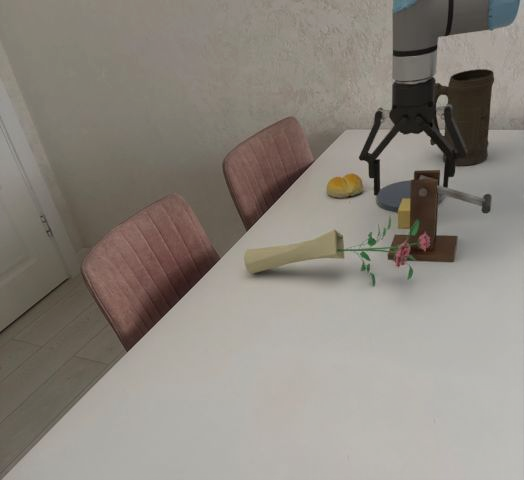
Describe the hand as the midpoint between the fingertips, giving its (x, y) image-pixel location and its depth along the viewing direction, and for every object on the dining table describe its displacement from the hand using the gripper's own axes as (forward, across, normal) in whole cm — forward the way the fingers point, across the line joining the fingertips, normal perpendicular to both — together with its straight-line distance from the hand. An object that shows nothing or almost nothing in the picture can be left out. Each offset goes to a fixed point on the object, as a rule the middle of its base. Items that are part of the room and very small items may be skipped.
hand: (410, 192), depth 103 cm
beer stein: (+7, -6, -36) cm, 37 cm away
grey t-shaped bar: (-4, -9, +12) cm, 15 cm away
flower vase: (+7, +11, +23) cm, 26 cm away
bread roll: (+7, +18, -16) cm, 25 cm away
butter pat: (+7, 0, 0) cm, 7 cm away
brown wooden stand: (+7, -4, +12) cm, 14 cm away
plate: (+7, +2, -12) cm, 14 cm away
